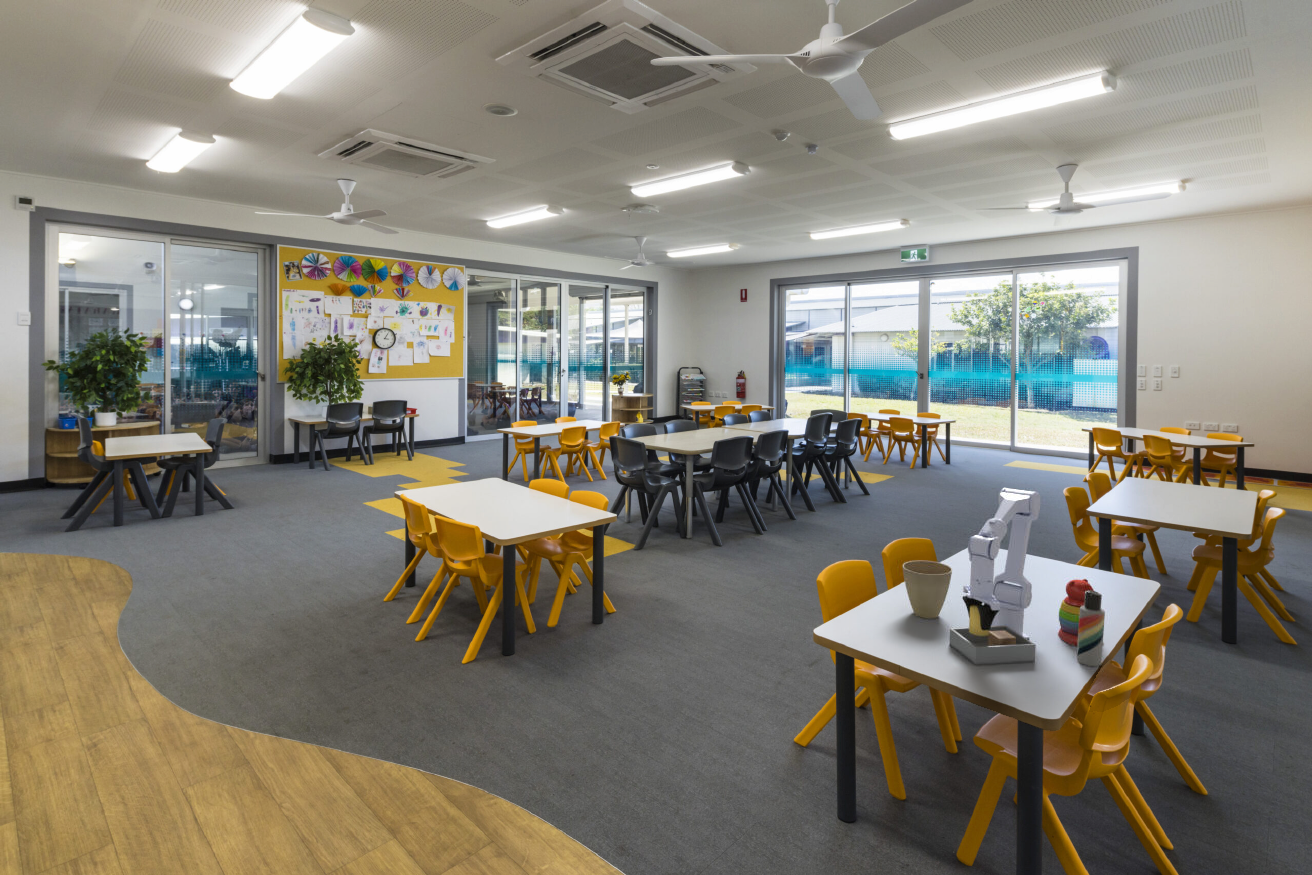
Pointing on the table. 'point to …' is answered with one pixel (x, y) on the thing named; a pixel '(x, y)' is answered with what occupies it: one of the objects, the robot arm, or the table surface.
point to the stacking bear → (1072, 610)
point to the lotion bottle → (1091, 630)
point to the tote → (991, 647)
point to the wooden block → (1000, 638)
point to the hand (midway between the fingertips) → (979, 625)
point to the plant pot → (927, 586)
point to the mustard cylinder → (976, 622)
